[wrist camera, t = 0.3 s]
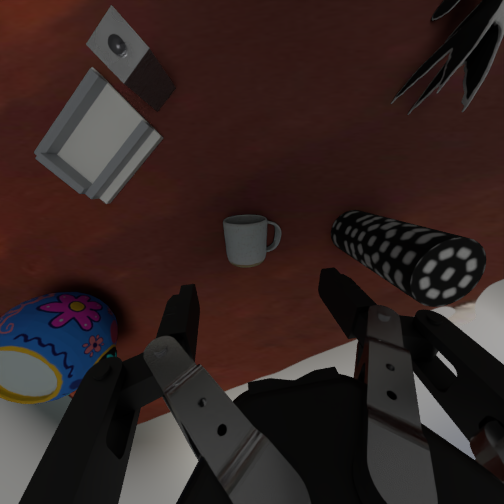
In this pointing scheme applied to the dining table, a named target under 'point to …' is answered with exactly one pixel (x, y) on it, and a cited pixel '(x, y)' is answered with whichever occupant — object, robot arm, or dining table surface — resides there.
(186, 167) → the dining table surface
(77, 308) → the ceramic pot
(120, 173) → the grey open box
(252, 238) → the ceramic mug
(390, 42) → the dining table surface
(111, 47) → the aluminium block
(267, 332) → the dining table surface
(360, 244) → the spotted tube
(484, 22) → the decorative fish
